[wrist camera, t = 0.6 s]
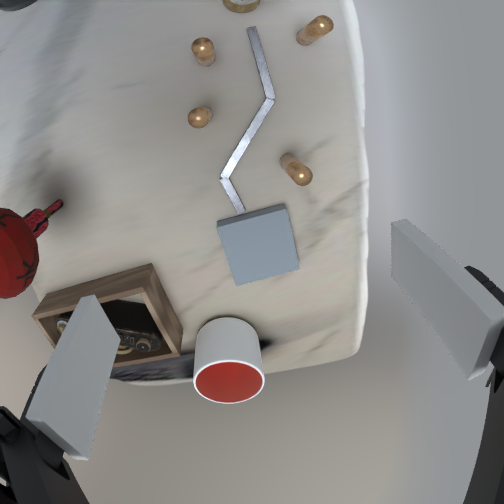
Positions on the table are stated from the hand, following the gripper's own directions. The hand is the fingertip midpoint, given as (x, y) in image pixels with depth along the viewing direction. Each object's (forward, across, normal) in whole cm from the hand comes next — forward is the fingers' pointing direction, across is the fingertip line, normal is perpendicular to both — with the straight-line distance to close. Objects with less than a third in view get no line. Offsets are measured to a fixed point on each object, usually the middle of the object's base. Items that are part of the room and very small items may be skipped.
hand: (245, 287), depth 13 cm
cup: (+28, -7, -28) cm, 40 cm away
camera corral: (+28, -24, -18) cm, 41 cm away
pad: (+28, +1, -12) cm, 30 cm away
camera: (+28, -23, -18) cm, 41 cm away
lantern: (+28, -24, +1) cm, 37 cm away
